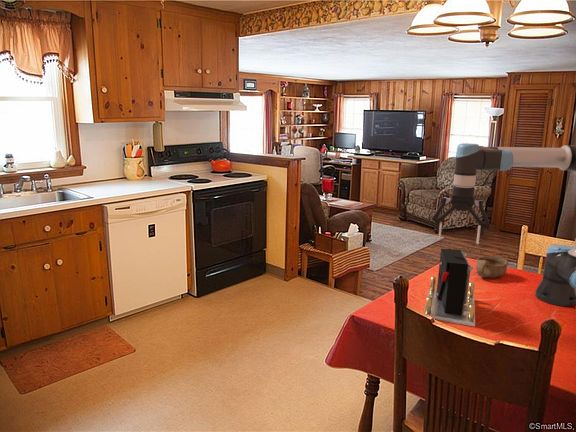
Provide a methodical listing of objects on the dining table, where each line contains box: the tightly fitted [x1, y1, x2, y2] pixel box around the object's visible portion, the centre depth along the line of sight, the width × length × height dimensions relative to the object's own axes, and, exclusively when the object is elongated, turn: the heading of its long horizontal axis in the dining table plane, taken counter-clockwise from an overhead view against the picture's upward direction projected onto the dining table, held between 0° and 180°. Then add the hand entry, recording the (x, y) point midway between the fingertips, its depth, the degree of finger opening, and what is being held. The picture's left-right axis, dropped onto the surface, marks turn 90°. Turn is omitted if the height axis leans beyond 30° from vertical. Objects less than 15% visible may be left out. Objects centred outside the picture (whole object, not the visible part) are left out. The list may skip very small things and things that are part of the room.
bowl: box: [475, 255, 509, 278], centre depth 211 cm, size 18×14×10 cm
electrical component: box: [436, 247, 474, 315], centre depth 174 cm, size 18×10×20 cm, turn 168°
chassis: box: [423, 276, 476, 327], centre depth 176 cm, size 18×26×8 cm
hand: (458, 241), depth 171 cm, fingers open, 13 cm apart
